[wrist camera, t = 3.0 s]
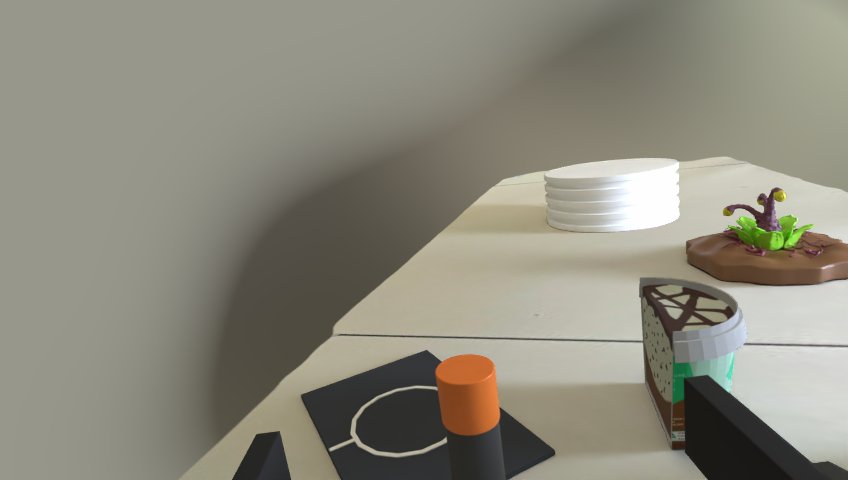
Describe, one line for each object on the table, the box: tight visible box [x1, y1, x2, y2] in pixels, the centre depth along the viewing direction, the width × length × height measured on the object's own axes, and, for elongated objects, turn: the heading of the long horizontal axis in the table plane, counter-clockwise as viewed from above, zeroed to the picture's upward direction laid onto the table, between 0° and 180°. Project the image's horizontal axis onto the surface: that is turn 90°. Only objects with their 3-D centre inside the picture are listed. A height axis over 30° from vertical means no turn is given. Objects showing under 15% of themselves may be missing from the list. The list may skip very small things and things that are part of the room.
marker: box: [435, 354, 506, 480], centre depth 27 cm, size 3×3×13 cm
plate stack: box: [544, 158, 679, 232], centre depth 108 cm, size 28×28×12 cm
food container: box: [639, 277, 747, 449], centre depth 38 cm, size 12×6×10 cm, turn 167°
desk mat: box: [301, 350, 555, 480], centre depth 43 cm, size 15×22×1 cm
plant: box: [686, 188, 848, 285], centre depth 68 cm, size 20×20×11 cm
